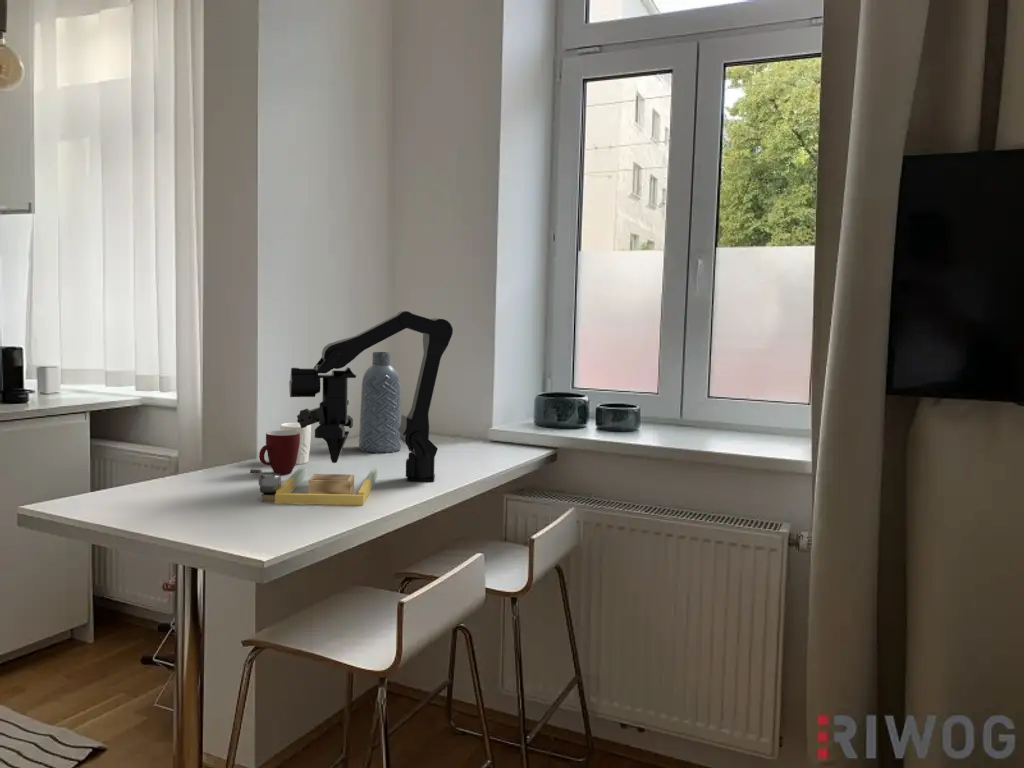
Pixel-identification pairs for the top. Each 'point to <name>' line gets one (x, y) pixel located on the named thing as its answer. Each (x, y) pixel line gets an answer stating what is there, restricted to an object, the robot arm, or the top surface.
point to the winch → (268, 485)
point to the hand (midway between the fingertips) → (334, 462)
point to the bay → (287, 497)
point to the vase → (380, 407)
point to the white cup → (304, 440)
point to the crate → (331, 484)
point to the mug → (281, 450)
